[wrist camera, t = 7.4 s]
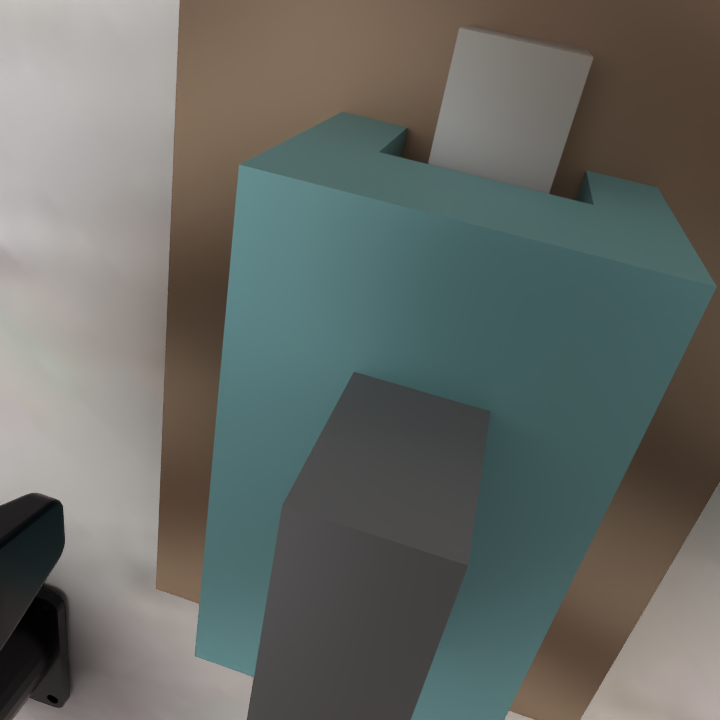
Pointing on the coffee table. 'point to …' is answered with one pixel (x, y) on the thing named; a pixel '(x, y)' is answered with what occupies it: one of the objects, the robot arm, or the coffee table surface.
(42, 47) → the coffee table surface
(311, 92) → the cleat board
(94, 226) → the coffee table surface
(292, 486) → the grooved box
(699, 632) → the coffee table surface
